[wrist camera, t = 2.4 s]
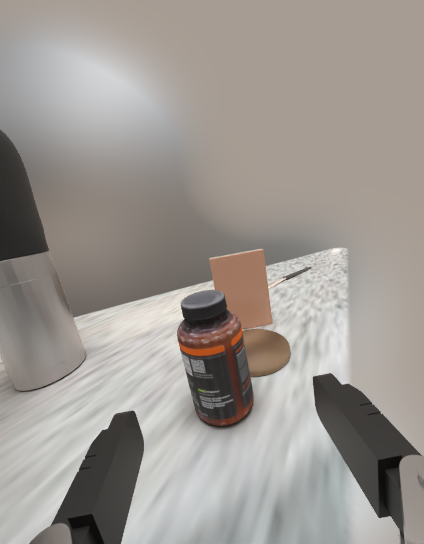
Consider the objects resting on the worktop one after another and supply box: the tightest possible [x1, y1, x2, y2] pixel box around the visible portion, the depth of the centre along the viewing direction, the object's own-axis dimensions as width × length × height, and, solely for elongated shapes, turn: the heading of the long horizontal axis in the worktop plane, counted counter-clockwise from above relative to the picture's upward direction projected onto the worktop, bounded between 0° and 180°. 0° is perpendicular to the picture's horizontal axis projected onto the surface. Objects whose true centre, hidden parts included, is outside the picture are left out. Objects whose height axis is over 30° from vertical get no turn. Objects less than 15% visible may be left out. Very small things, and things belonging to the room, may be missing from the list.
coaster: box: [242, 329, 290, 377], centre depth 29 cm, size 9×9×1 cm
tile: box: [209, 249, 272, 329], centre depth 35 cm, size 1×8×12 cm, turn 93°
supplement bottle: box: [177, 290, 253, 426], centre depth 21 cm, size 6×6×11 cm
